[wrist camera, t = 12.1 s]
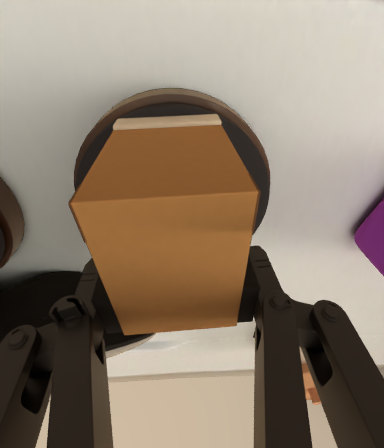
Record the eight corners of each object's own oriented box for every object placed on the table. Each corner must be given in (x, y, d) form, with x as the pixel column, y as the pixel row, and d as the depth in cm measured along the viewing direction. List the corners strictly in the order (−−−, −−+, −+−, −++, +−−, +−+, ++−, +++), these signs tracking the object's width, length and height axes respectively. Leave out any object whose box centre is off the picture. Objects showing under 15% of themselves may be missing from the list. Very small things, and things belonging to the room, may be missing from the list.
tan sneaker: (45, 108, 13) (-96, 190, 6) (284, 97, 14) (402, 161, 7) (106, 269, 22) (75, 381, 15) (253, 259, 22) (291, 362, 15)
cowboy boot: (-265, 343, 15) (-76, 435, 31) (158, 380, 18) (139, 447, 34) (-115, 244, 23) (-23, 357, 38) (169, 281, 26) (149, 372, 41)
